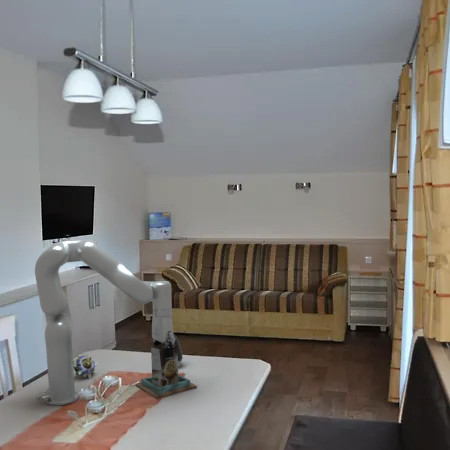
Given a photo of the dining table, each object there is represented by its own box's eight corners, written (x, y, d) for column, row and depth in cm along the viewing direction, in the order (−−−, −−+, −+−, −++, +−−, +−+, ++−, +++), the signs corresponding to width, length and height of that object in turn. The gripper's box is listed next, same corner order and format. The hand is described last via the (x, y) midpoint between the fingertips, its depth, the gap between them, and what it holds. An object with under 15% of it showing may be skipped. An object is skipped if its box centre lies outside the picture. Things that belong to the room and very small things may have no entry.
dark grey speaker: (156, 370, 239) (154, 336, 238) (165, 362, 249) (164, 329, 248) (177, 371, 236) (176, 337, 235) (186, 363, 246) (184, 330, 245)
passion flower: (89, 390, 233) (81, 373, 225) (69, 382, 237) (60, 366, 229) (104, 369, 240) (97, 352, 233) (84, 362, 245) (76, 345, 237)
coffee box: (163, 390, 212) (161, 349, 211) (151, 386, 217) (150, 347, 215) (179, 383, 219) (177, 344, 218) (168, 380, 224) (166, 341, 222)
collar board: (156, 399, 206) (156, 391, 206) (135, 386, 221) (135, 379, 220) (196, 387, 216) (196, 380, 216) (174, 375, 231) (173, 369, 231)
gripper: (143, 309, 221) (145, 351, 222) (164, 317, 207) (166, 361, 208) (160, 307, 225) (161, 347, 227) (181, 314, 211) (183, 357, 213)
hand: (163, 354), depth 217 cm, fingers open, 9 cm apart
